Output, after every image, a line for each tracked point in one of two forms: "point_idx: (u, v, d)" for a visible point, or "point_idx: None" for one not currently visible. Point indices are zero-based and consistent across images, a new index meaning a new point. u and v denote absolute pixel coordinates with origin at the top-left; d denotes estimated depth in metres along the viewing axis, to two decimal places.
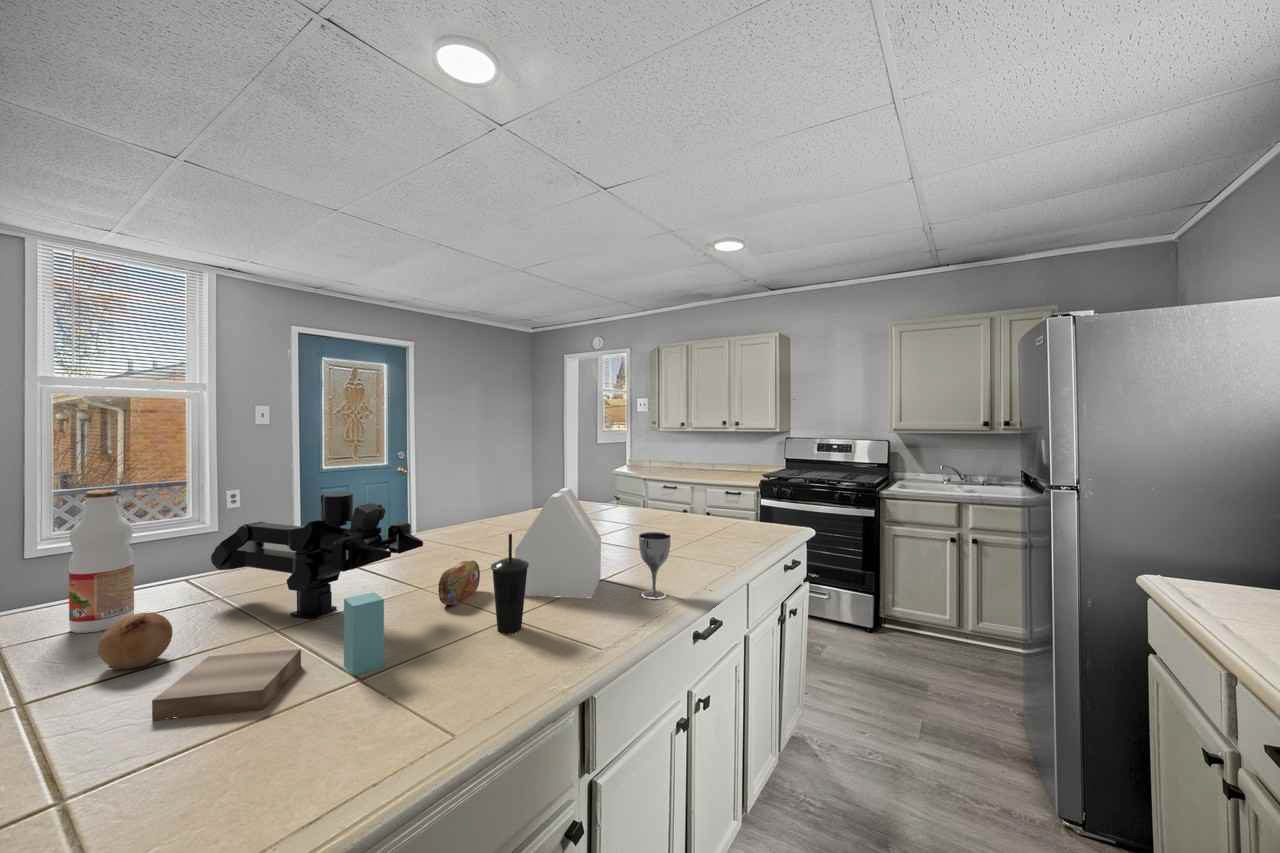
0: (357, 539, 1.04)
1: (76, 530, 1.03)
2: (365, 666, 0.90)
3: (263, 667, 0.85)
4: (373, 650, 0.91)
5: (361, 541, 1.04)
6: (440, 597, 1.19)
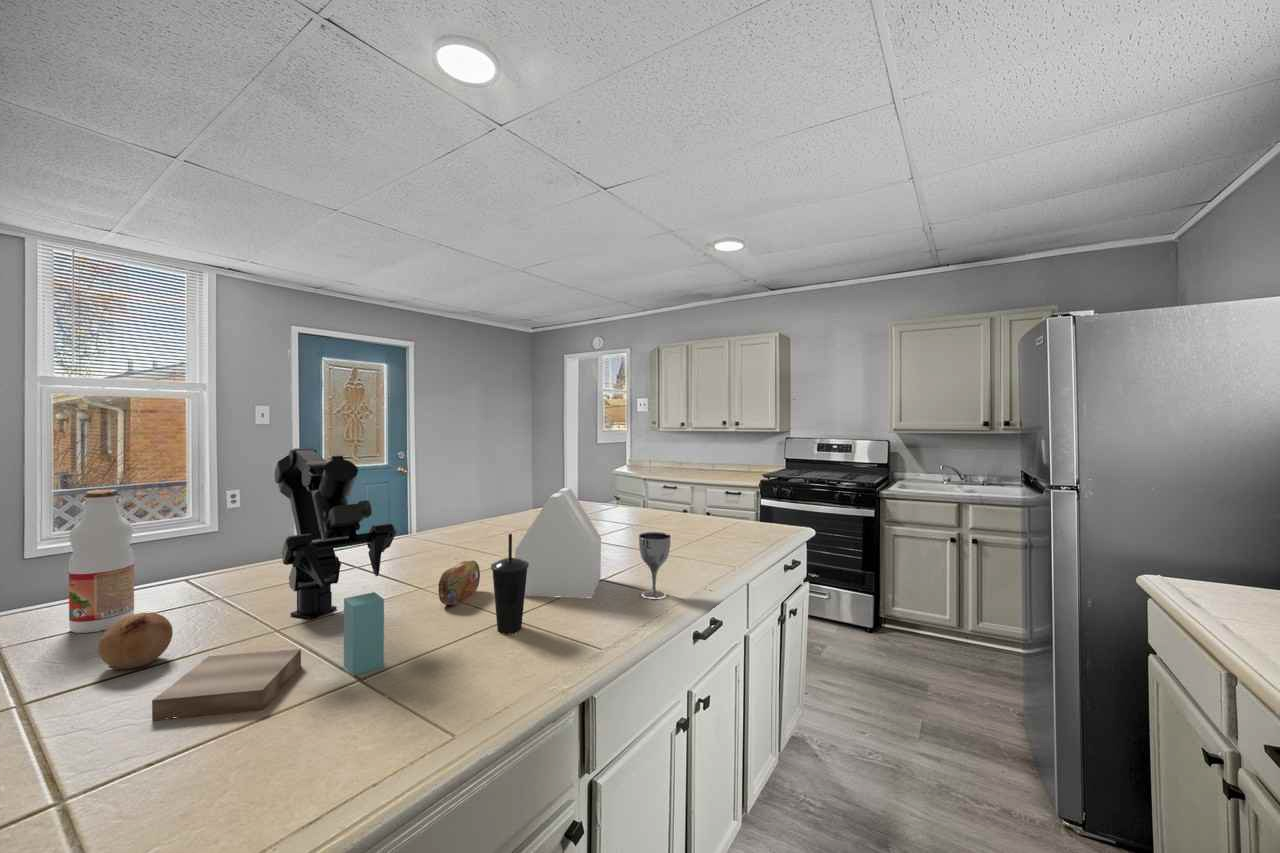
0: (308, 547, 0.94)
1: (76, 530, 1.03)
2: (365, 666, 0.90)
3: (263, 667, 0.85)
4: (373, 650, 0.91)
5: (311, 551, 0.94)
6: (440, 597, 1.19)
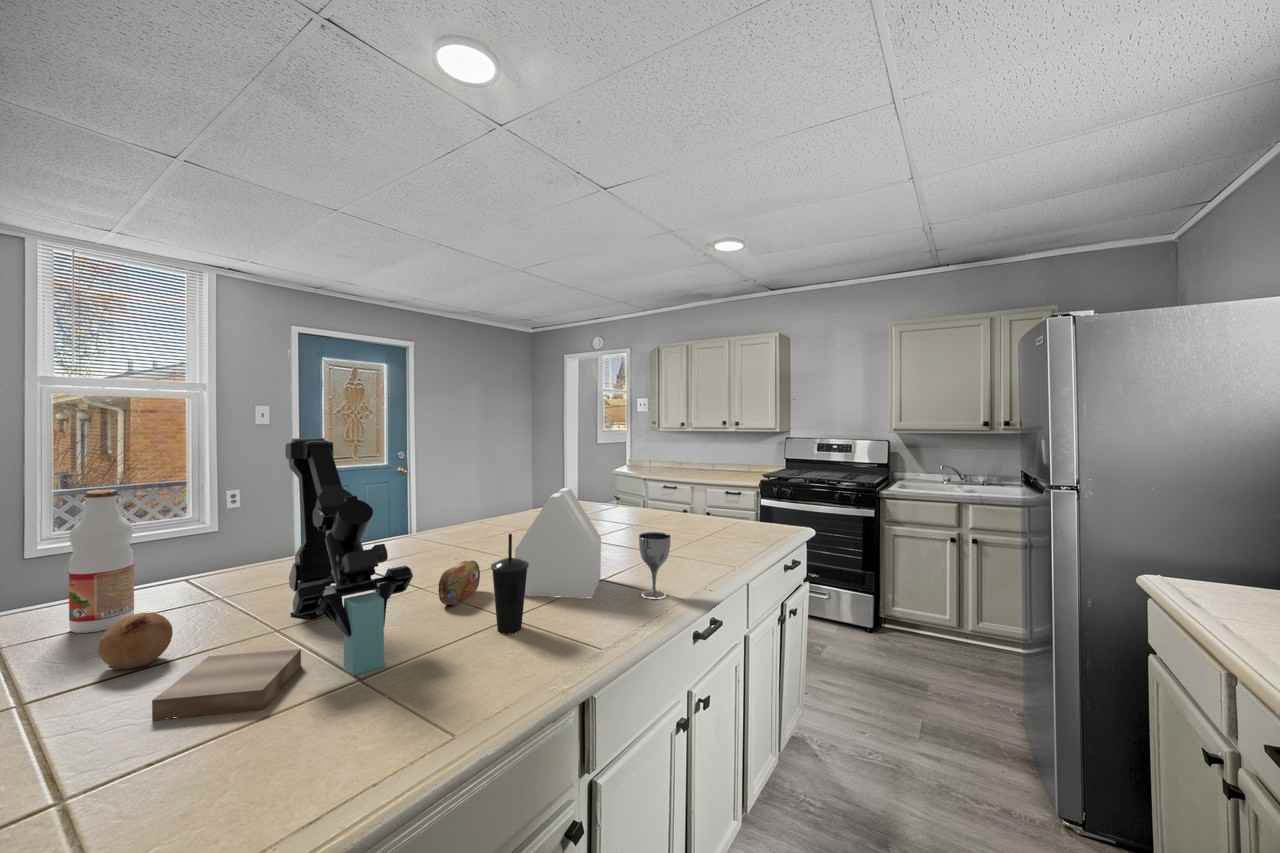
0: (334, 595, 0.89)
1: (76, 530, 1.03)
2: (365, 666, 0.90)
3: (263, 667, 0.85)
4: (373, 650, 0.91)
5: (336, 599, 0.90)
6: (440, 597, 1.19)
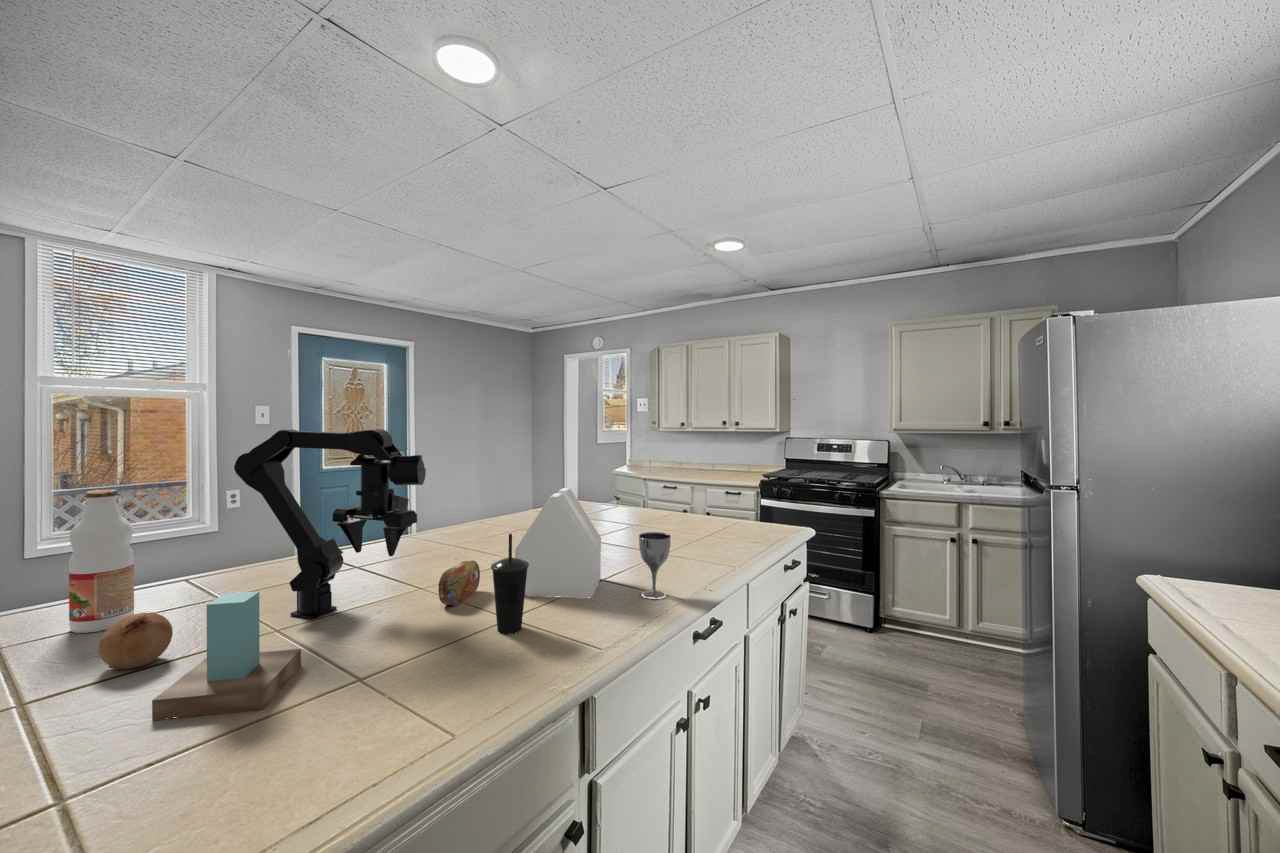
0: None
1: (76, 530, 1.03)
2: (221, 673, 0.81)
3: (263, 667, 0.85)
4: (231, 658, 0.81)
5: None
6: (440, 597, 1.19)
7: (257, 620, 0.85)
